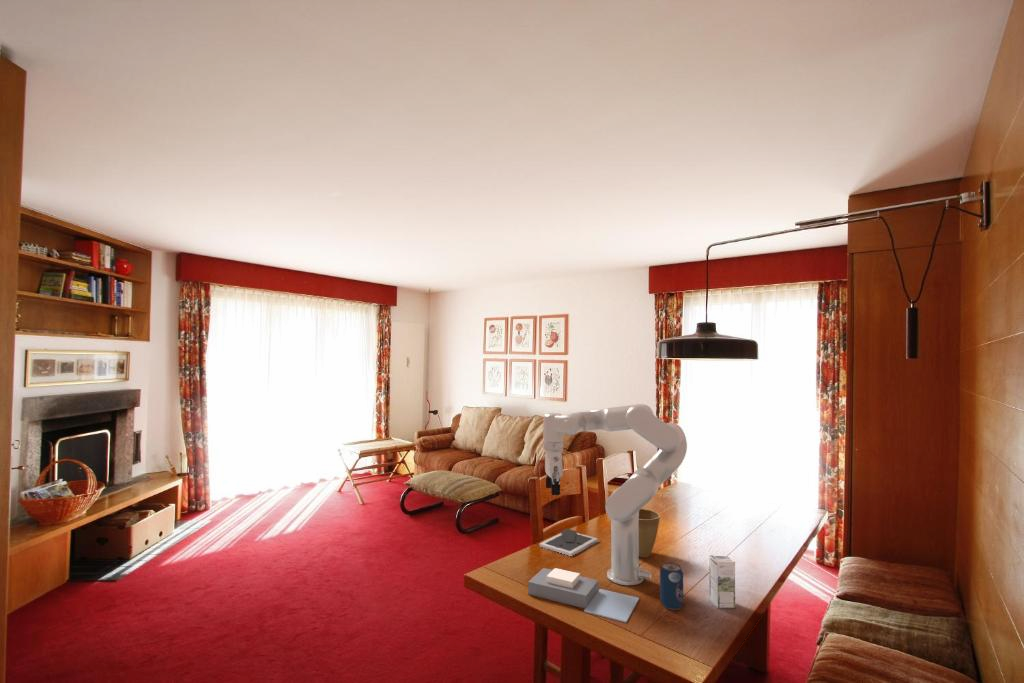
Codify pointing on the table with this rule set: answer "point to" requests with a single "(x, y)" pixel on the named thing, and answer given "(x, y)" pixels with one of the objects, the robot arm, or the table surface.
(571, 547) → the picture frame
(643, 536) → the plant pot
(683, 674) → the table surface
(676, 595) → the soda can
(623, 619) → the mat
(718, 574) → the syrup box
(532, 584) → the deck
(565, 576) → the white flat block
